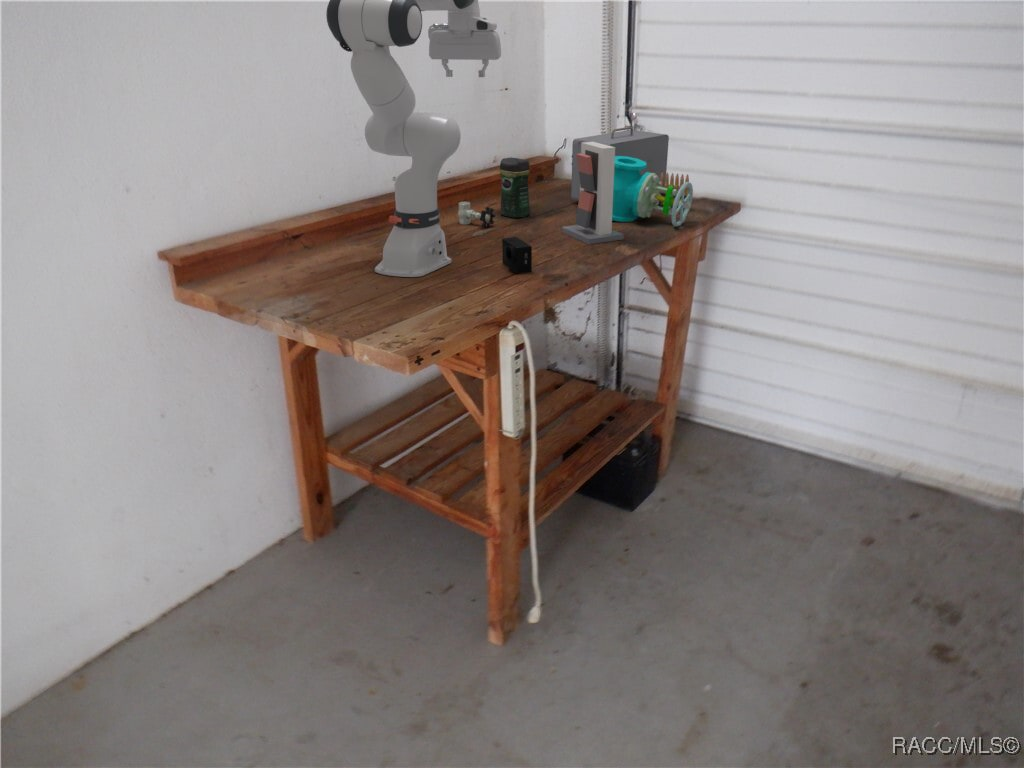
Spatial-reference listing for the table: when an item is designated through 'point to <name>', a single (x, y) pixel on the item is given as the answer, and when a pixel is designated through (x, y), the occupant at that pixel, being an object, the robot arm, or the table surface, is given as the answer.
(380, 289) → the table surface
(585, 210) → the lower rocker
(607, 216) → the tower
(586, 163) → the upper rocker
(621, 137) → the vintage electronic device
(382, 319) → the table surface
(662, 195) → the ammunition clip
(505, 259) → the digital camera
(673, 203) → the valve
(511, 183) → the coffee jar
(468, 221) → the valve
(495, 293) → the table surface
